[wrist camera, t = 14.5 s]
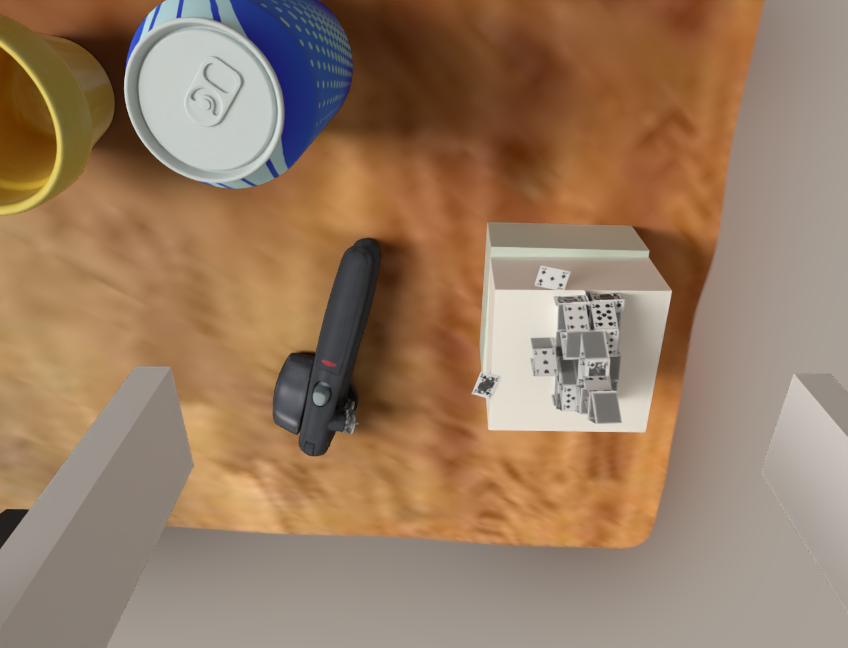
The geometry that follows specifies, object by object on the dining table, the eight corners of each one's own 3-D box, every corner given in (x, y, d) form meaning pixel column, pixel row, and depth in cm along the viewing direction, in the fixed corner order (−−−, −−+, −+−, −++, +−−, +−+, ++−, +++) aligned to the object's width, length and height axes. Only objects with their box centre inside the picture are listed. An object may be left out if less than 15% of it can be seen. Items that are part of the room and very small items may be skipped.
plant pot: (-26, 132, 44) (-144, 171, 35) (-10, -28, 39) (-140, -29, 30) (126, 194, 45) (50, 245, 37) (158, 48, 41) (81, 67, 32)
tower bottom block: (479, 343, 50) (482, 378, 46) (487, 220, 46) (491, 246, 41) (609, 347, 50) (624, 383, 46) (630, 224, 45) (649, 251, 41)
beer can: (371, 111, 42) (332, 179, 28) (251, 142, 43) (155, 222, 29) (331, -33, 38) (261, -37, 24) (200, 6, 40) (62, 23, 25)
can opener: (350, 433, 55) (340, 478, 50) (270, 409, 54) (251, 453, 49) (418, 248, 47) (414, 281, 42) (325, 217, 46) (310, 246, 41)
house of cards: (468, 268, 37) (472, 334, 30) (625, 262, 36) (665, 327, 29) (471, 399, 41) (476, 483, 34) (612, 395, 40) (645, 480, 34)
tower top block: (485, 386, 46) (488, 429, 42) (490, 256, 42) (495, 289, 37) (626, 388, 46) (645, 432, 42) (648, 257, 41) (671, 290, 37)
